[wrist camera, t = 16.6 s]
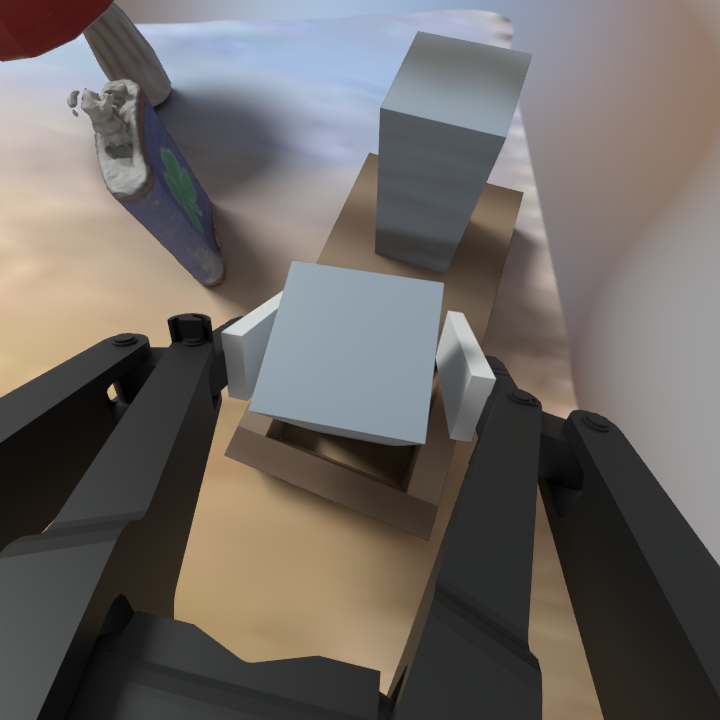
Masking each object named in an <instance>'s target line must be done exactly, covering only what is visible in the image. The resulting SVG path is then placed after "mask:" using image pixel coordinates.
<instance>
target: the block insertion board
mask: <svg viewBox="0 0 720 720" xmlns="http://www.w3.org/2000/svg"><path fill="white" fill-rule="evenodd" d="M531 57H532V54H530V53H525V52H520V51H514V50H510V49H505V48H500V47H495V46H490V45H485V44H480V43H475V42H470V41H465V40H460V39H455V38H450V37H445V36H440V35H435V34H430V33H425V32H420V31H418V32H417V34H416V36H415V38H414V40H413V42H412V45H411V47H410V49H409V51H408V53H407V55H406V57H405V59H404V61H403V63H402V65H401V67H400V69H399V71H398V73H397V75H396V77H395V79H394V81H393V83H392V85H391V87H390V89H389V91H388V93H387V95H386V97H385V99H384V101H383V103H382V105H381V107H380V129H379V155H376V154H372V153H369V154H368V156H367V159H366V161H365V163H364V165H363V167H362V169H361V171H360V173H359V175H358V177H357V179H356V181H355V183H354V186H353V188H352V190H351V192H350V194H349V196H348V198H347V200H346V202H345V204H344V206H343V208H342V211H341V213H340V215H339V217H338V219H337V221H336V223H335V225H334V227H333V229H332V231H331V233H330V236H329V238H328V240H327V242H326V244H325V246H324V248H323V250H322V252H321V254H320V256H319V258H318V261H317V263H316V264H319V265H326V266H332V267H339V268H346V269H353V270H359V271H366V272H373V273H380V274H387V275H393V276H400V277H407V278H414V279H420V280H427V281H434V282H441V283H444V288H443V297H442V305H441V314H440V322H439V331H438V339H437V348H436V353H437V350H438V346H439V342H440V338H441V335H442V331H443V327H444V324H445V320H446V316H447V313H448V311H454V312H460V313H463V314H464V316H465V318H466V320H467V322H468V324H469V326H470V328H471V330H472V332H473V334H474V336H475V338H476V340H477V342H478V344H479V346H480V348H481V347H482V344H483V340H484V336H485V333H486V329H487V325H488V322H489V318H490V314H491V311H492V307H493V303H494V300H495V296H496V292H497V289H498V285H499V281H500V278H501V274H502V270H503V267H504V263H505V259H506V256H507V252H508V248H509V245H510V241H511V237H512V234H513V230H514V226H515V223H516V219H517V215H518V212H519V208H520V204H521V201H522V197H523V192H519V191H515V190H512V189H508V188H504V187H500V186H496V185H492V184H488V183H486V182H487V180H488V177H489V175H490V173H491V171H492V168H493V166H494V164H495V162H496V160H497V157H498V155H499V153H500V151H501V148H502V146H503V144H504V142H505V139H506V137H507V134H508V131H509V127H510V124H511V121H512V118H513V115H514V112H515V108H516V105H517V102H518V99H519V96H520V92H521V89H522V86H523V83H524V80H525V77H526V73H527V70H528V67H529V64H530V61H531ZM434 365H437V362H436V356H435V364H434ZM251 400H252V398H251ZM251 400H250V402H249V404H248V406H247V408H246V410H245V412H244V415H243V417H242V419H241V421H240V423H239V425H238V427H237V429H236V431H235V433H234V435H233V437H232V440H231V442H230V444H229V446H228V448H227V450H226V452H225V454H224V455H225V456H227V457H229V458H232V459H234V460H236V461H239V462H241V463H244V464H246V465H248V466H251V467H253V468H255V469H258V470H260V471H263V472H265V473H267V474H270V475H272V476H275V477H277V478H279V479H282V480H284V481H286V482H289V483H291V484H294V485H296V486H298V487H301V488H303V489H305V490H308V491H310V492H313V493H315V494H317V495H320V496H322V497H324V498H327V499H329V500H332V501H334V502H336V503H339V504H341V505H343V506H346V507H348V508H351V509H353V510H355V511H358V512H360V513H363V514H365V515H367V516H370V517H372V518H374V519H377V520H379V521H382V522H384V523H386V524H389V525H391V526H393V527H396V528H398V529H401V530H403V531H405V532H408V533H410V534H412V535H415V536H417V537H420V538H422V539H424V540H427V541H429V538H430V534H431V531H432V527H433V523H434V520H435V516H436V512H437V509H438V505H439V501H440V498H441V494H442V490H443V487H444V483H445V479H446V476H447V472H448V468H449V465H450V461H451V457H452V454H453V450H454V446H455V443H456V440H455V439H450V436H449V431H448V425H447V419H446V414H445V408H444V402H443V397H442V391H441V385H440V379H439V374H438V368H437V371H436V374H435V377H434V381H433V384H432V390H431V398H430V407H429V415H428V424H427V432H426V440H425V444H419V445H413V448H412V451H411V455H410V458H409V461H408V464H407V467H406V471H405V474H404V477H403V480H402V484H401V487H400V486H398V485H395V484H393V483H390V482H388V481H385V480H383V479H380V478H378V477H375V476H373V475H370V474H368V473H365V472H363V471H360V470H358V469H356V468H353V467H351V466H348V465H346V464H343V463H341V462H338V461H336V460H333V459H331V458H328V457H326V456H323V455H321V454H318V453H316V452H313V451H311V450H308V449H306V448H303V447H301V446H298V445H296V444H293V443H291V442H288V441H286V440H283V439H281V438H280V437H281V435H282V433H283V430H284V428H285V426H286V423H287V422H283V421H280V420H277V419H274V418H271V417H267V416H264V415H261V414H258V413H255V412H251V411H248V410H249V407H250V403H251Z"/></svg>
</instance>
